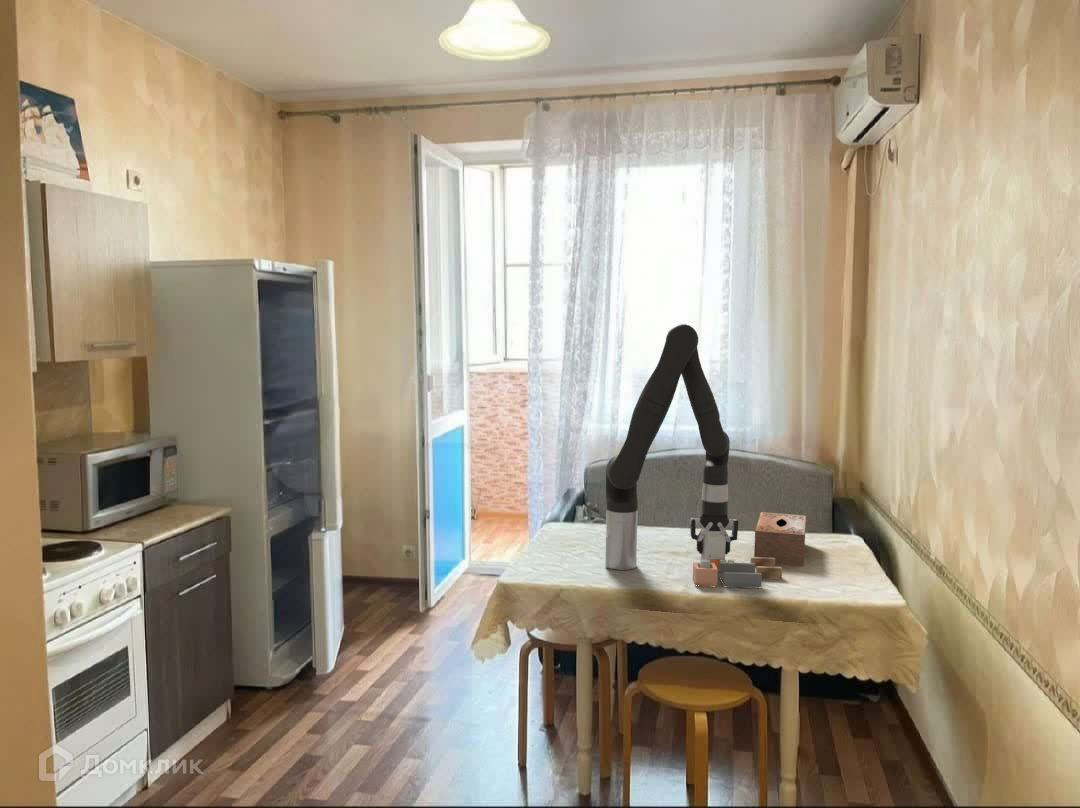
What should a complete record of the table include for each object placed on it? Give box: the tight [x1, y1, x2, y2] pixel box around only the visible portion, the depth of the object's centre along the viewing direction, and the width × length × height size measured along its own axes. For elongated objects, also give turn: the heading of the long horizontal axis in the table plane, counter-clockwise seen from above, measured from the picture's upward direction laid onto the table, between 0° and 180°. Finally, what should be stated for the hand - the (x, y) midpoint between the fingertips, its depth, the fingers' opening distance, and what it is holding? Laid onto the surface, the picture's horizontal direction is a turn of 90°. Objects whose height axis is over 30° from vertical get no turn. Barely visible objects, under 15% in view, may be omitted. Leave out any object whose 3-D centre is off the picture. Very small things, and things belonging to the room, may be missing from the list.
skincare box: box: [700, 528, 726, 572], centre depth 244 cm, size 6×4×12 cm
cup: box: [692, 559, 719, 587], centre depth 232 cm, size 6×6×6 cm
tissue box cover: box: [753, 511, 807, 568], centre depth 262 cm, size 26×14×10 cm, turn 162°
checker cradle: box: [718, 559, 763, 588], centre depth 233 cm, size 10×10×5 cm
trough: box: [749, 556, 783, 580], centre depth 241 cm, size 7×10×3 cm
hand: (713, 553), depth 244 cm, fingers closed on skincare box, 7 cm apart
